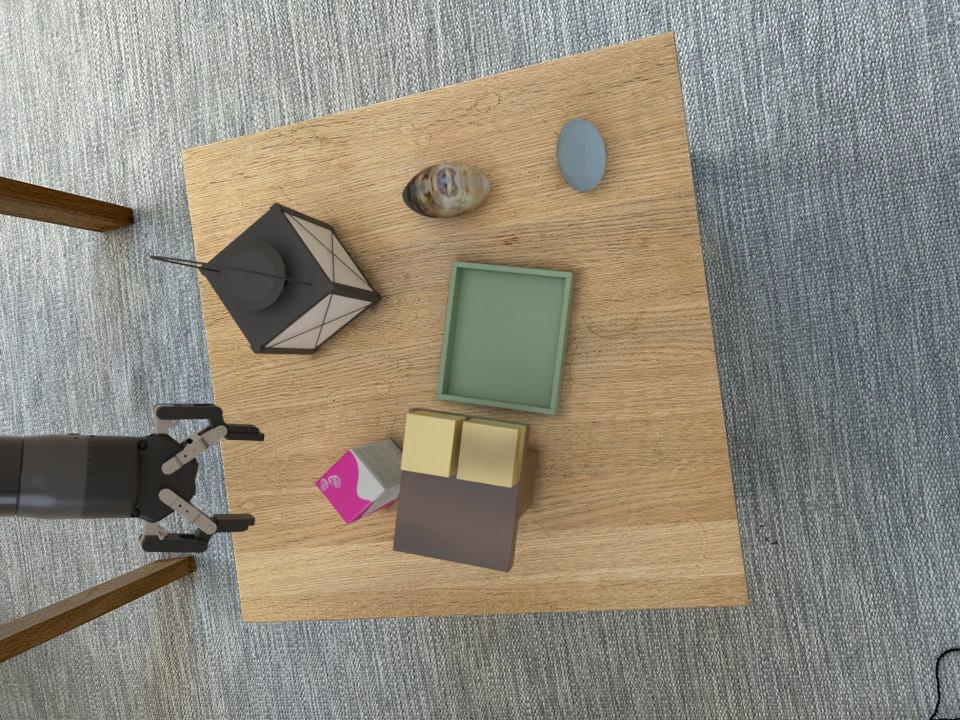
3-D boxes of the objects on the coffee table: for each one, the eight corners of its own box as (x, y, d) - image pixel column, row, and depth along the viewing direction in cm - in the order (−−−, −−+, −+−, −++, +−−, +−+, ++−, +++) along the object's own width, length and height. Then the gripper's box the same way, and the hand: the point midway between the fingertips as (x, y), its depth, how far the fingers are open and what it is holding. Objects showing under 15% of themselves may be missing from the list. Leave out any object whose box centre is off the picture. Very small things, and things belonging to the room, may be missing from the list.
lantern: (384, 299, 89) (261, 269, 62) (312, 356, 91) (162, 352, 64) (331, 223, 91) (188, 162, 63) (261, 281, 93) (94, 246, 65)
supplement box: (390, 435, 89) (351, 446, 78) (423, 475, 88) (388, 491, 77) (355, 468, 90) (312, 483, 79) (388, 507, 89) (348, 528, 78)
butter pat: (460, 471, 63) (448, 477, 60) (414, 463, 64) (400, 469, 61) (466, 417, 63) (455, 420, 59) (420, 410, 64) (406, 413, 60)
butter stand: (549, 516, 84) (499, 584, 59) (462, 501, 87) (377, 561, 61) (562, 408, 84) (518, 429, 58) (474, 396, 86) (394, 411, 61)
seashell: (492, 165, 86) (475, 145, 78) (499, 215, 86) (482, 201, 78) (412, 181, 88) (388, 163, 80) (418, 230, 88) (395, 217, 80)
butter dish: (558, 413, 84) (554, 415, 81) (443, 397, 87) (435, 398, 84) (575, 275, 84) (572, 272, 81) (459, 264, 87) (452, 260, 84)
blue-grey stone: (620, 101, 80) (584, 107, 77) (642, 172, 80) (607, 180, 77) (574, 128, 86) (540, 134, 83) (595, 194, 87) (561, 202, 84)
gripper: (72, 567, 66) (260, 558, 75) (89, 403, 66) (276, 413, 74) (67, 542, 73) (241, 536, 81) (83, 393, 72) (255, 402, 81)
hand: (257, 477), depth 78 cm, fingers open, 8 cm apart
